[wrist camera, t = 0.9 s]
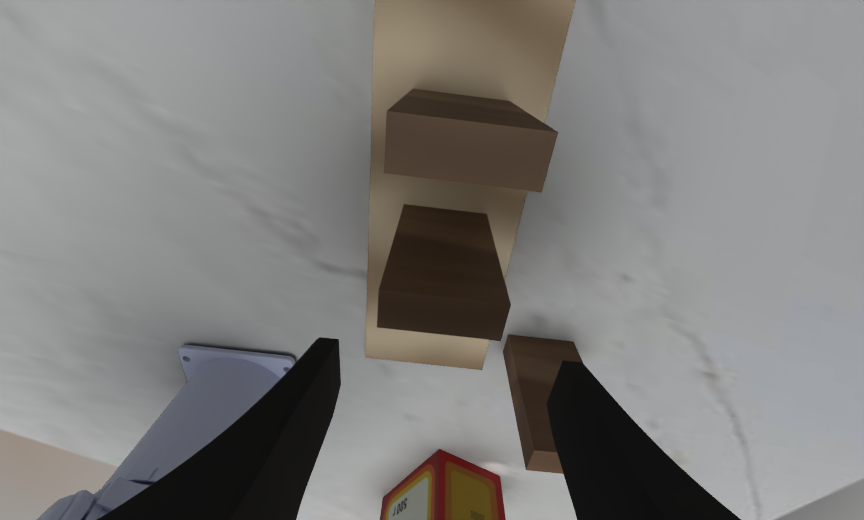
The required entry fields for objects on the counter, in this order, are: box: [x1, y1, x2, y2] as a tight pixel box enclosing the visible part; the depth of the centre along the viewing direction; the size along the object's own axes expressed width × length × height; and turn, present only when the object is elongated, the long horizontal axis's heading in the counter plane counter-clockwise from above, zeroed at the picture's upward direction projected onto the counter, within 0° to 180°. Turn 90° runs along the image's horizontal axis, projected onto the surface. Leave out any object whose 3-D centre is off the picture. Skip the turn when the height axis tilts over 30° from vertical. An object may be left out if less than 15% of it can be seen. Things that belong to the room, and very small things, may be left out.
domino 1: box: [384, 89, 558, 192], centre depth 13 cm, size 2×4×8 cm, turn 84°
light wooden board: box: [366, 0, 575, 370], centre depth 18 cm, size 26×8×1 cm, turn 174°
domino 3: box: [503, 335, 583, 474], centre depth 21 cm, size 2×4×8 cm, turn 83°
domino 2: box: [377, 204, 511, 341], centre depth 16 cm, size 2×4×8 cm, turn 84°
